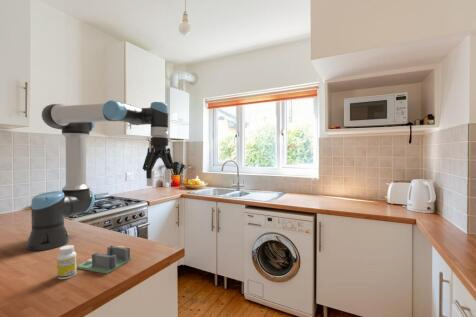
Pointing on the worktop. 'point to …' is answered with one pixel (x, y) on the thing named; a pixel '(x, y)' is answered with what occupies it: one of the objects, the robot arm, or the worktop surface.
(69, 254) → the supplement bottle
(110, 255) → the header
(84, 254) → the worktop surface
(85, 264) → the board
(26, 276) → the worktop surface
